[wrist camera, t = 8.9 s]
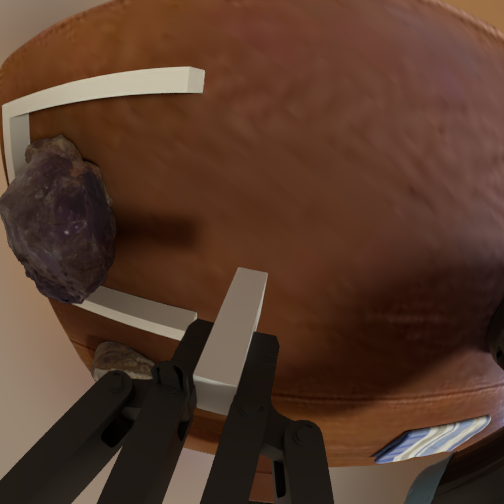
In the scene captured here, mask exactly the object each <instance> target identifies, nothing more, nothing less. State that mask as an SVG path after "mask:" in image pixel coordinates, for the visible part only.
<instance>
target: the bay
mask: <svg viewBox="0 0 504 504" xmlns="http://www.w3.org/2000/svg"><path fill="white" fill-rule="evenodd" d="M204 75H205V70H201V69H197V68H193V67H170V68H156V69H145V70H136V71H128V72H121V73H115V74H109V75H103V76H98V77H93V78H88V79H83V80H79V81H75V82H71V83H67V84H63V85H59V86H56V87H52V88H49V89H46V90H42V91H39V92H36V93H33V94H30V95H27V96H25V97H22V98H19V99H17V100H14V101H11V102H9V103H6V104H4V105H2V116H3V137H4V149H5V158H6V166H7V173H8V179H9V185H10V183H11V182H12V181H13V180H14V179H15V178H16V177H17V176H18V174H19V173H20V172H21V171H22V170H23V169H24V168H25V167H26V166H27V165H28V164H27V162H26V160H25V159H26V157H25V151H26V148H27V146H28V145H30V130H29V112H32V111H36V110H40V109H44V108H48V107H53V106H57V105H62V104H67V103H72V102H78V101H84V100H90V99H97V98H105V97H114V96H123V95H135V94H151V93H203V85H204ZM74 305H76V306H79V307H81V308H84V309H86V310H89V311H91V312H94V313H97V314H99V315H102V316H105V317H108V318H110V319H113V320H116V321H119V322H122V323H125V324H128V325H131V326H134V327H137V328H140V329H143V330H146V331H149V332H153V333H156V334H159V335H163V336H166V337H169V338H173V339H177V340H180V341H181V339H182V337H183V336H184V333H185V331H186V329H187V327H188V325H190V324H191V323H192V322H193V321H195V320H196V319H197V312H194V311H190V310H186V309H182V308H178V307H174V306H170V305H166V304H162V303H159V302H155V301H151V300H148V299H144V298H140V297H137V296H133V295H130V294H127V293H123V292H120V291H117V290H113V289H110V288H107V287H104V286H99V287H98V288H97V289H96V290H95V292H93V293H91V294H90V295H89V297H88V298H86V299H85V300H84V302H83V303H82V304H74Z"/></svg>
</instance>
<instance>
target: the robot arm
mask: <svg viewBox="0 0 504 504" xmlns="http://www.w3.org/2000/svg"><path fill="white" fill-rule="evenodd" d="M267 275H268V273H265V272H260V271H255V270H250V269H245V268H241V267H238V269H237V272H236V274H235V276H234V279H233V281H232V283H231V286H230V288H229V290H228V293H227V295H226V297H225V300H224V302H223V305H222V307H221V309H220V312H219V314H218V316H217V319H216V321H215V323H213V322H209V321H205V320H201V319H196V320H195V321H193V322H192V323H191V324H190V325H188V327H187V329H186V331H185V333H184V336H183V337H182V339H181V341H180V344H179V345H178V347H177V349H176V351H175V353H174V355H173V357H172V359H171V361H162V362H159V363H157V364H155V365H154V366H153V367H152V368H151V370H150V371H151V374H152V377H153V379H134V378H130V376H129V375H128V374H127V373H125V372H123V371H120V370H113V371H109V372H107V373H106V374H104V375H103V376H102V377H101V378H100V379H99V380H98V381H97V382H96V383H95V384H94V385H93V386H92V387H91V388H90V389H89V390H88V391H87V392H86V393H85V394H84V395H83V396H82V397H81V398H80V399H79V400H78V401H77V402H76V403H75V404H74V405H73V406H72V407H71V408H70V409H69V410H68V411H67V412H66V413H65V414H64V415H63V416H62V417H61V418H60V419H59V420H58V421H57V422H56V423H55V424H54V425H53V426H52V427H51V428H50V429H49V430H48V432H46V433H45V435H44V436H43V437H42V438H41V439H40V440H39V441H38V442H37V443H36V444H35V445H34V446H33V447H32V448H31V449H30V450H29V451H28V452H27V453H26V454H25V455H24V456H23V457H22V458H21V459H20V460H19V461H18V463H16V465H14V467H13V468H12V469H11V470H10V471H9V472H8V473H7V474H6V475H5V476H4V477H3V478H2V479H1V480H0V504H71V503H72V502H73V501H74V500H75V499H76V497H78V495H79V494H80V493H81V492H82V491H83V490H84V489H85V488H86V487H87V485H88V484H89V483H90V482H91V481H92V480H93V479H94V478H95V477H96V475H97V474H98V473H99V472H100V471H101V470H102V469H103V467H104V466H105V465H106V464H107V463H108V462H109V461H110V460H111V458H112V457H113V456H114V455H115V454H116V452H118V450H119V449H120V448H121V447H122V446H123V447H122V449H121V451H120V453H119V455H118V457H117V460H116V462H115V464H114V466H113V468H112V471H111V473H110V475H109V477H108V479H107V482H106V484H105V486H104V488H103V491H102V493H101V495H100V497H99V500H98V502H97V504H162V502H163V499H164V497H165V494H166V491H167V488H168V485H169V483H170V480H171V478H172V475H173V472H174V470H175V467H176V464H177V461H178V459H179V456H180V453H181V451H182V448H183V445H184V443H185V440H186V437H187V435H188V432H189V429H190V426H191V424H192V421H193V412H194V409H195V406H196V404H197V408H199V409H203V410H206V411H210V412H214V413H218V414H221V415H225V416H227V419H226V422H225V425H224V429H223V432H222V435H221V438H220V442H219V445H218V448H217V451H216V455H215V458H214V461H213V464H212V467H211V471H210V474H209V477H208V480H207V483H206V486H205V489H204V492H203V495H202V499H201V502H200V504H248V501H249V497H250V493H251V489H252V485H253V481H254V477H255V473H256V468H257V464H258V460H259V455H260V454H261V455H263V456H265V457H267V458H269V459H271V466H272V478H273V490H274V502H275V504H334V500H333V493H332V487H331V481H330V475H329V469H328V463H327V458H326V452H325V446H324V441H323V436H322V432H321V430H320V428H319V427H318V426H317V425H316V424H315V423H313V422H311V421H309V420H298V421H293V420H291V419H289V418H287V417H285V416H283V415H281V414H280V413H278V412H277V411H276V410H275V409H274V407H273V405H272V403H271V391H272V385H273V380H274V375H275V369H276V363H277V357H278V352H279V343H278V340H277V337H276V336H274V335H269V334H264V333H259V332H256V329H257V325H258V321H259V317H260V313H261V308H262V302H263V297H264V291H265V286H266V280H267ZM487 345H488V348H489V350H490V352H491V354H492V357H493V359H494V361H495V362H496V363H497V364H498V365H499V366H500V367H501V368H502V369H503V371H504V300H503V302H502V303H501V305H500V306H499V308H498V310H497V312H496V314H495V315H494V317H493V320H492V322H491V324H490V327H489V330H488V334H487ZM404 504H504V426H503V427H501V428H500V429H498V430H497V431H495V432H493V433H492V434H490V435H488V436H487V437H485V438H483V439H482V440H480V441H478V442H476V443H474V444H472V445H471V446H469V447H467V448H465V449H463V450H461V451H459V452H458V451H455V452H453V453H452V454H451V455H450V456H448V457H446V458H444V459H442V460H440V461H438V462H436V463H434V464H432V465H430V466H428V467H426V468H425V469H424V470H423V471H422V472H421V473H420V474H419V475H418V476H417V477H416V479H415V480H414V482H413V484H412V485H411V487H410V489H409V492H408V494H407V497H406V500H405V502H404Z"/></svg>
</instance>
